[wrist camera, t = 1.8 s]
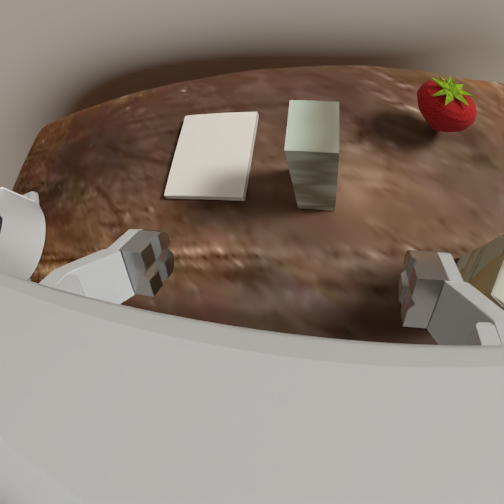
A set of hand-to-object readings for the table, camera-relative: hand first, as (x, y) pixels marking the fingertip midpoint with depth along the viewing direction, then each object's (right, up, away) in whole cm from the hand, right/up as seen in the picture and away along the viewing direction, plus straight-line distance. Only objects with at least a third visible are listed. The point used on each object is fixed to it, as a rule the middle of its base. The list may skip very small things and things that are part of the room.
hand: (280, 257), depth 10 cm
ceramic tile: (-6, +12, +27) cm, 30 cm away
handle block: (+6, +7, +23) cm, 25 cm away
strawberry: (+22, +16, +22) cm, 35 cm away
